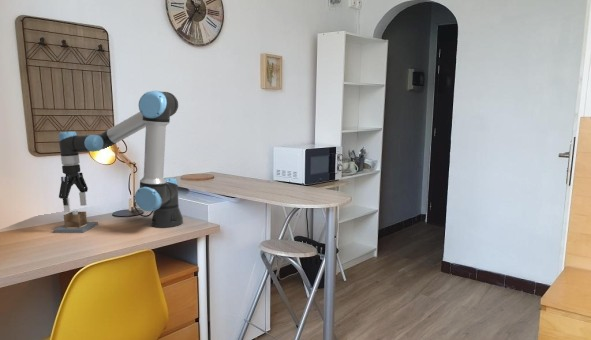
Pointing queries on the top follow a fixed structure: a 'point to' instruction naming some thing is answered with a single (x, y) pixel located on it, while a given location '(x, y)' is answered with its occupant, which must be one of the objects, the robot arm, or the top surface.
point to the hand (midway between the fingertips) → (75, 208)
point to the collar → (75, 220)
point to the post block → (76, 230)
